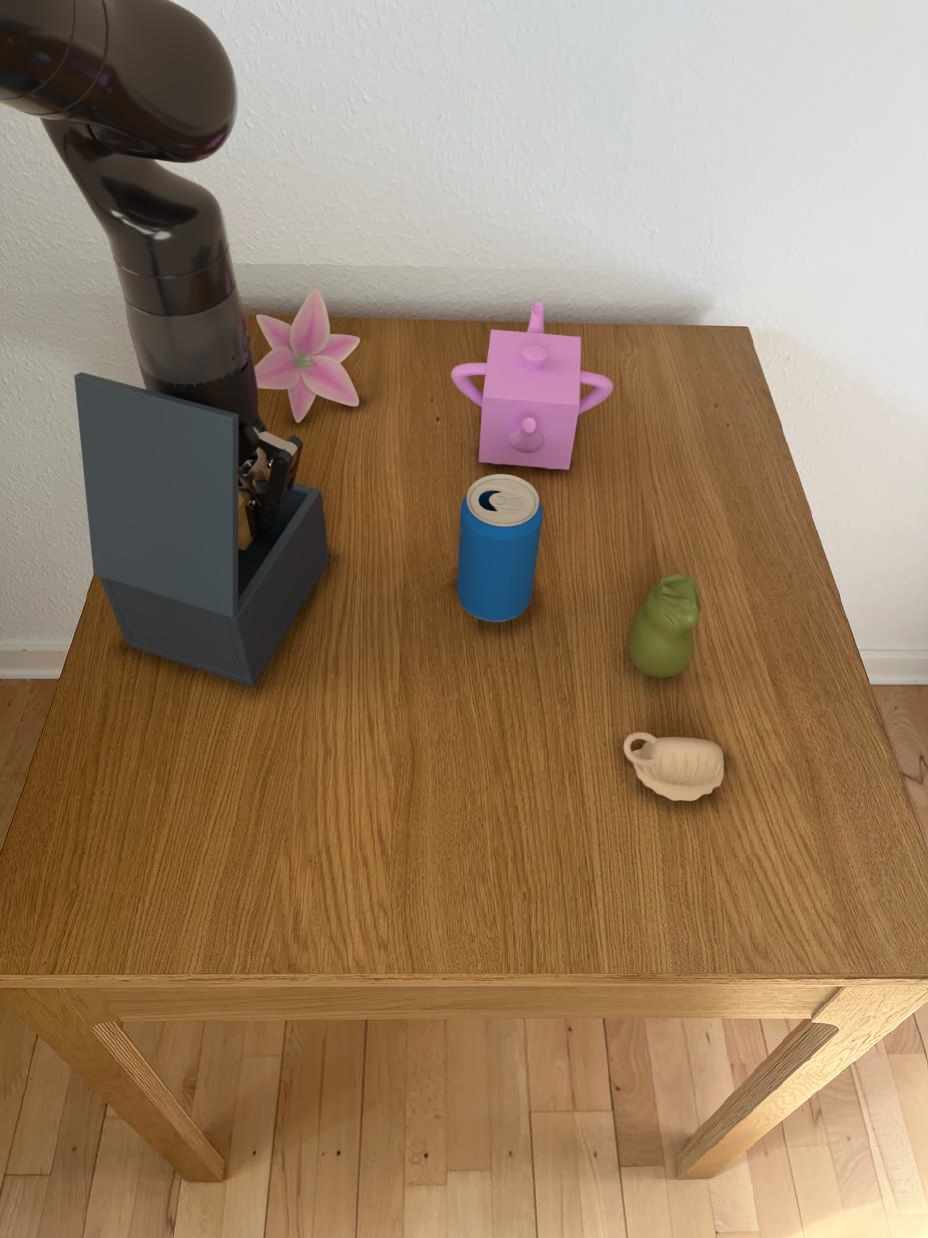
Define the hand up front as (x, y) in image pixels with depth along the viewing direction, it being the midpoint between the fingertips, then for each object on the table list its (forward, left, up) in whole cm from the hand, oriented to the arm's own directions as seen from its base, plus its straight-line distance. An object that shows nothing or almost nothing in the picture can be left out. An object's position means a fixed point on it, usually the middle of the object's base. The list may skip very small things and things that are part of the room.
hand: (233, 522), depth 77 cm
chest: (-2, -2, -7) cm, 8 cm away
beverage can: (+20, -7, -8) cm, 23 cm away
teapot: (+29, +12, -8) cm, 33 cm away
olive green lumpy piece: (+31, -17, -8) cm, 37 cm away
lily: (+9, +24, -8) cm, 27 cm away
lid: (-4, -6, +9) cm, 11 cm away
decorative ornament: (+28, -27, -8) cm, 40 cm away
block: (0, 0, 0) cm, 0 cm away
